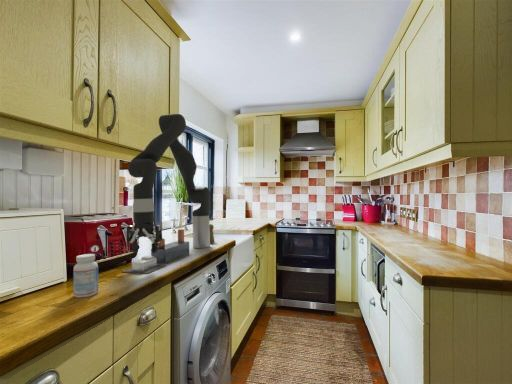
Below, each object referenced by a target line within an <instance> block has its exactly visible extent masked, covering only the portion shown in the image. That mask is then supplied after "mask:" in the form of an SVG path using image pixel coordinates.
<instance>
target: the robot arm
mask: <svg viewBox="0 0 512 384" xmlns="http://www.w3.org/2000/svg"><path fill="white" fill-rule="evenodd" d="M158 125H159V129H160V131H161V133H160V134H158V135H157V136H156V137H154V138H153V139H152V140H150V141H149V143H148V145H146V147H145V148H144V150H142V151H141V152H139V154H137V155H136V156H134V157H133V158H132V159H131V160H130V162H129V164H128V167H127V171H128V174H129V175H130V176H131V177H133V178H138V179H139V178H142V179H141V182H139V183H135V184H134V185H133V189H132V190H133V202H132V215H133V216H132V217H133V218H132V221H133V223H134V224H133V225H131V224H130V225H127V227H126V241H127V242H130V243H131V252H132V253H137V252H138V251H139V244H138V243H139V242H138V240H139V239H140V238H147V239H149V241H150V242H151V249H152V253H156V252H157V250H158V242H159V241H161V240H162V238H163V228H162V225H155V224H154V223H155V203H154V190H153V189H154V185H155V180H156V177H157V173H158V166H157V164H156V163H158V162H159V161H160V160H161V158H162V157H163V156H164V154H165V152H166V151H167V150H168V149H169V150H170V152H171V153H172V155H173V158H174V161H175V164H176V166H177V168H178V171H179V173H180V175H181V179H182V180H183V184H184V186H185V189H186V192H187V196H188V200H189V201H190V203H191V204H198V205H199V204H200V205H199V207H198V208H197V209H194V210H192V217H191V218H192V220H191V221H192V248H195V249H205V248H209V247H210V246H211V243H210V227H209V224H210V209H211V207H210V204H211V192H210V191H211V190H210V189H209V187H207V186H196V185H195V183H194V182H195V181H194V179H195V176H196V171H197V162H196V160H195V157H194V155H193V153H192V152H191V151H190V150H189V149H188V148H187V147H186V146H184V144H183V143H182V142H181V141H180V140H179V137H180V136H181V135H182V134H183V133H184V132H185V130H186V128H187V123H186V119H185V116H184V115H183V114H181V113H170V114H168V113H167V114H163V115H160V116H159V118H158Z"/></svg>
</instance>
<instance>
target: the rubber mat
mask: <svg viewBox="0 0 512 384" xmlns="http://www.w3.org/2000/svg"><path fill="white" fill-rule="evenodd" d="M164 267H166V264H157V266H155V267H153V268H150V269H148V270H146V271H132V267H130V268H128V269H125V270H122V271H121V273H124V274H139V275H142V274H144V275H149V274H152V273H154V272H155V271H158V270H160V269H163V268H164Z"/></svg>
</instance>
